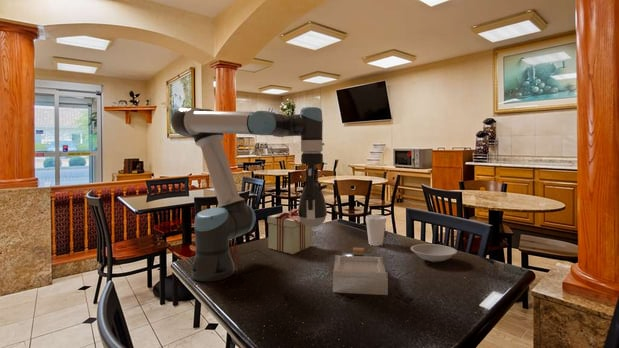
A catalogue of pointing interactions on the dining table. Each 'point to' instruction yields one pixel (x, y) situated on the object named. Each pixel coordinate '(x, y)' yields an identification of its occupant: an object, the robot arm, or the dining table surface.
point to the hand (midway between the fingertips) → (312, 215)
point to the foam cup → (375, 229)
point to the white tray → (359, 273)
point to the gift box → (288, 232)
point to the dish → (433, 252)
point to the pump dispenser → (319, 207)
